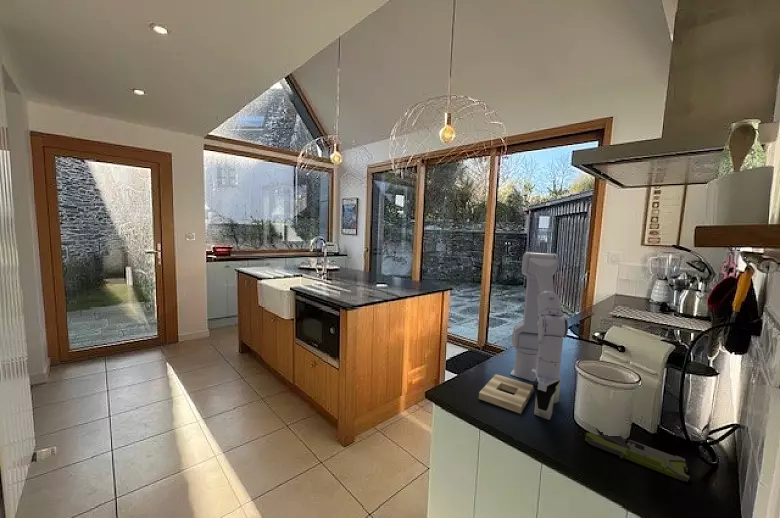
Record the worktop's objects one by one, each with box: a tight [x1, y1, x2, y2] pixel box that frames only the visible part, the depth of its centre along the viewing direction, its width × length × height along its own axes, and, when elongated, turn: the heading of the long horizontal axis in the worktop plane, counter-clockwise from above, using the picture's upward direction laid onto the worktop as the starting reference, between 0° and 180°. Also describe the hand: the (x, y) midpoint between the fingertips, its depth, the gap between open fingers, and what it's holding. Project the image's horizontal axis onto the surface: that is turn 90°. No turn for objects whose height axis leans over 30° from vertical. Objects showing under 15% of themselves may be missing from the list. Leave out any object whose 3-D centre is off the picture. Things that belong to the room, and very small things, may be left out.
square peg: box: [533, 394, 554, 421], centre depth 91 cm, size 4×4×7 cm
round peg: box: [553, 377, 562, 404], centre depth 99 cm, size 6×6×7 cm
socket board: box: [478, 373, 534, 415], centre depth 100 cm, size 16×12×2 cm
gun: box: [584, 431, 690, 483], centre depth 79 cm, size 2×19×15 cm
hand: (544, 405), depth 91 cm, fingers closed on square peg, 4 cm apart
